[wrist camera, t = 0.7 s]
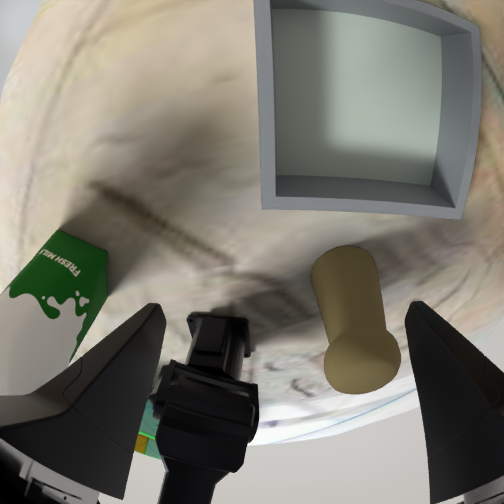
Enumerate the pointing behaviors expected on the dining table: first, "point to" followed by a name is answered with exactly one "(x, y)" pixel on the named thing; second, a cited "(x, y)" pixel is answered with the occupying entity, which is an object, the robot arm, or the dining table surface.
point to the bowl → (148, 433)
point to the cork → (354, 322)
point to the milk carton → (49, 312)
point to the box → (367, 106)
